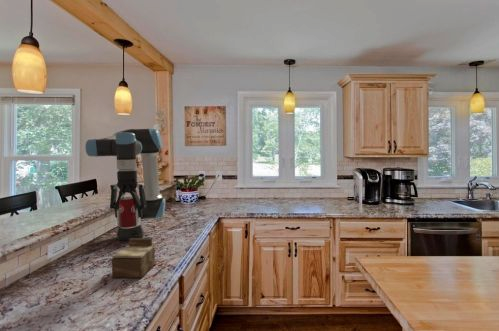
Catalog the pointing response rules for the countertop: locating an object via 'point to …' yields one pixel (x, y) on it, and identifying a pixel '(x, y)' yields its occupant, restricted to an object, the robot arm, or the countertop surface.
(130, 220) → the soda can
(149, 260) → the box
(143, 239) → the lid
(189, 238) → the countertop surface
